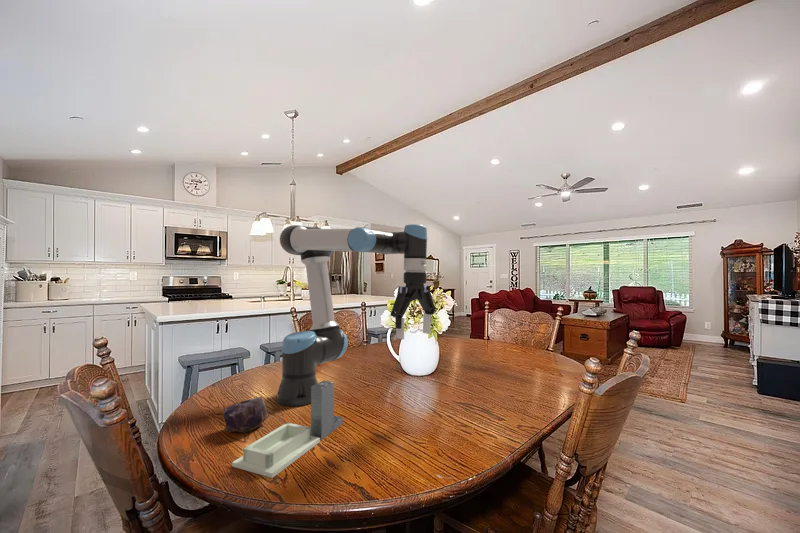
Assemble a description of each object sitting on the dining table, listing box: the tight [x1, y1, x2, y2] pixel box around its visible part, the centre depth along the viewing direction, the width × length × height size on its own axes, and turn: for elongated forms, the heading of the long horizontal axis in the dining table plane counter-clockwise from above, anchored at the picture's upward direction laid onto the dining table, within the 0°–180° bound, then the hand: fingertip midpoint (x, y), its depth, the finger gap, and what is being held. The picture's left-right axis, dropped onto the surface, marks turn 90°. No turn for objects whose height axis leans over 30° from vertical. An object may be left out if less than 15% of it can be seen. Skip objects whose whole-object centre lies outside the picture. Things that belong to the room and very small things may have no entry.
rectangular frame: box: [231, 422, 321, 479], centre depth 88 cm, size 12×18×4 cm, turn 158°
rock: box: [223, 396, 269, 434], centre depth 102 cm, size 12×9×10 cm
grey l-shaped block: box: [310, 380, 344, 441], centre depth 101 cm, size 4×11×14 cm, turn 158°
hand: (413, 335), depth 115 cm, fingers open, 13 cm apart
